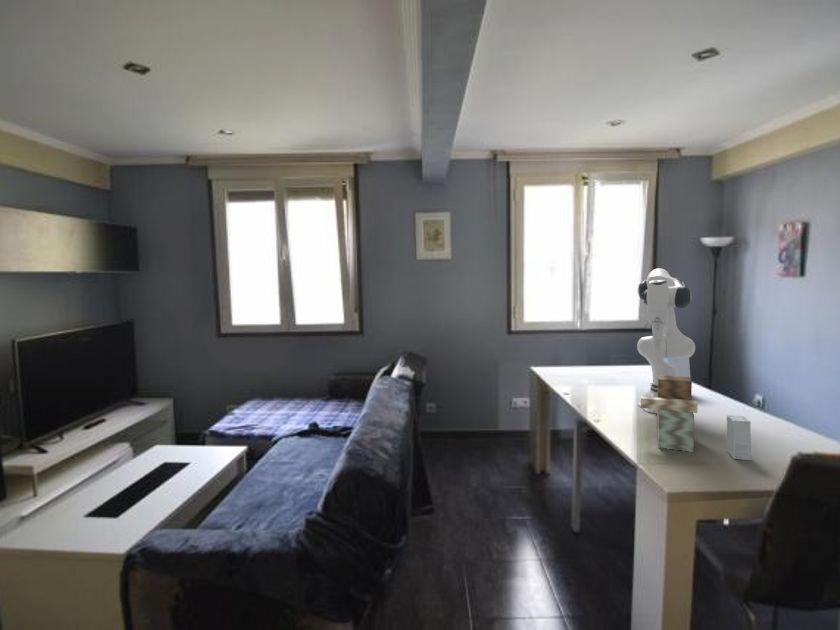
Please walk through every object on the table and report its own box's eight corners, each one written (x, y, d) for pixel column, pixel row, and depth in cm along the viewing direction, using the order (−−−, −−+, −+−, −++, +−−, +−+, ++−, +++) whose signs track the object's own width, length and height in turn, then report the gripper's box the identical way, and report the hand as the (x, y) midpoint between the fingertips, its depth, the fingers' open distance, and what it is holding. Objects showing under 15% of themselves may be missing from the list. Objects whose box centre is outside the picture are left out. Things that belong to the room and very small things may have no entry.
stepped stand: (658, 448, 176) (659, 385, 174) (656, 432, 194) (657, 375, 192) (693, 452, 171) (694, 387, 169) (688, 436, 188) (689, 377, 186)
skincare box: (751, 461, 161) (752, 422, 160) (732, 459, 164) (733, 420, 163) (743, 452, 169) (745, 415, 168) (725, 451, 171) (726, 414, 170)
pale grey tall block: (694, 396, 249) (695, 348, 247) (667, 397, 249) (668, 349, 247) (679, 390, 264) (680, 344, 262) (654, 390, 264) (654, 345, 262)
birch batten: (640, 407, 181) (640, 398, 181) (640, 405, 185) (640, 396, 184) (697, 413, 172) (697, 403, 172) (696, 410, 176) (696, 400, 175)
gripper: (666, 319, 182) (666, 352, 184) (664, 314, 200) (664, 343, 202) (649, 319, 185) (649, 351, 187) (649, 314, 203) (649, 343, 205)
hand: (657, 347), depth 194 cm, fingers open, 8 cm apart
